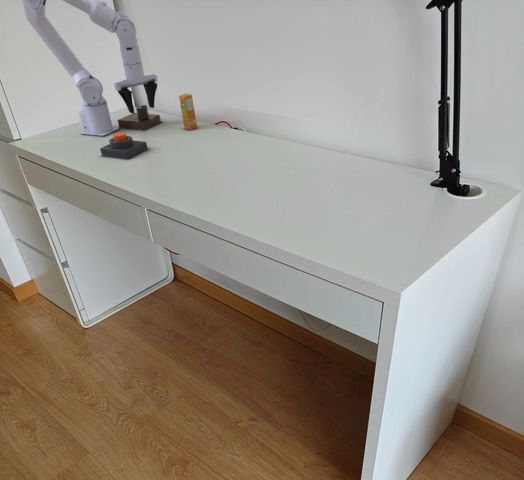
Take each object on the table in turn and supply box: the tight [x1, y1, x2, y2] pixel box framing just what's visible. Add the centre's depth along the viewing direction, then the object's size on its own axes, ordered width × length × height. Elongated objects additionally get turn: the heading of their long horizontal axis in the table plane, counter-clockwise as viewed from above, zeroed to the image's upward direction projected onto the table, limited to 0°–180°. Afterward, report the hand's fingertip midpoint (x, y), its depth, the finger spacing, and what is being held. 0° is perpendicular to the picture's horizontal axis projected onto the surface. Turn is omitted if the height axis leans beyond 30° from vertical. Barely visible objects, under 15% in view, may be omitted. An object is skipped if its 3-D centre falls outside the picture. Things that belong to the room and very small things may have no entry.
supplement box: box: [178, 92, 198, 131], centre depth 159 cm, size 3×3×10 cm
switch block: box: [99, 135, 149, 160], centre depth 146 cm, size 10×9×4 cm
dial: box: [135, 104, 150, 120], centre depth 164 cm, size 4×4×4 cm
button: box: [112, 132, 127, 142], centre depth 144 cm, size 4×4×2 cm
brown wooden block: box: [117, 112, 162, 131], centre depth 168 cm, size 12×9×3 cm
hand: (142, 110), depth 164 cm, fingers open, 7 cm apart
